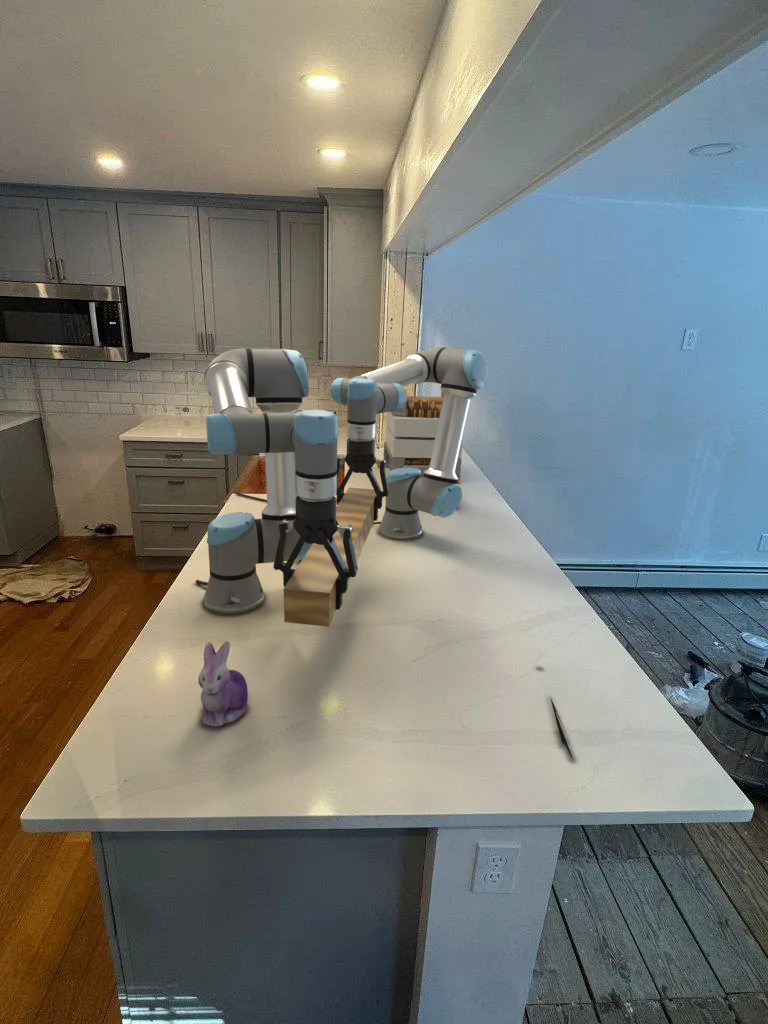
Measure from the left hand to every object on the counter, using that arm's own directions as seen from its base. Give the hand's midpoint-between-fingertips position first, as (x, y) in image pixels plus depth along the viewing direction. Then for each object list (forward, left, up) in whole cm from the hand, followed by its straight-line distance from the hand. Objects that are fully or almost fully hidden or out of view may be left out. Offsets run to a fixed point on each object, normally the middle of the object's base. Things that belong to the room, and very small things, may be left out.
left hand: (315, 603), depth 112 cm
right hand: (-25, +43, 0) cm, 50 cm away
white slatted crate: (-75, +151, -19) cm, 170 cm away
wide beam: (-12, +22, -1) cm, 25 cm away
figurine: (-7, -18, -19) cm, 27 cm away
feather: (+42, +25, -19) cm, 53 cm away
